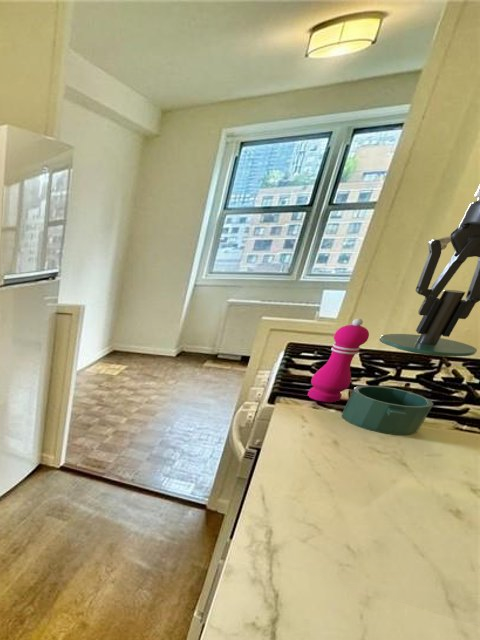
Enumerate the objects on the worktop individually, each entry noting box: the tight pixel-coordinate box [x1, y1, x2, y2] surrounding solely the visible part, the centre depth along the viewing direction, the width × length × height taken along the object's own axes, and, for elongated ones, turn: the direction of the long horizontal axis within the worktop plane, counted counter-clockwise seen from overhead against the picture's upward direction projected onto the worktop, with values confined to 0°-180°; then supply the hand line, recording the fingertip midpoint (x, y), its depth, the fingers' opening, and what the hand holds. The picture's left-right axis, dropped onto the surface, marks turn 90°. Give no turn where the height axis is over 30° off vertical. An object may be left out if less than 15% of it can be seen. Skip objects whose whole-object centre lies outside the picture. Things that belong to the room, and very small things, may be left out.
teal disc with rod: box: [378, 289, 478, 357], centre depth 94 cm, size 14×14×11 cm
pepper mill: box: [307, 318, 370, 404], centre depth 117 cm, size 7×7×20 cm
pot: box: [341, 385, 434, 436], centre depth 108 cm, size 13×18×6 cm
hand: (432, 333), depth 95 cm, fingers closed on teal disc with rod, 3 cm apart
